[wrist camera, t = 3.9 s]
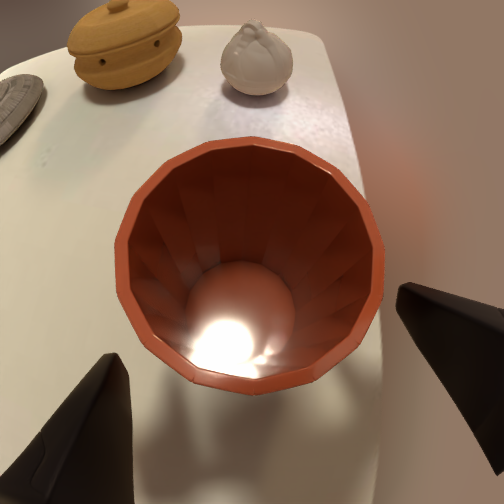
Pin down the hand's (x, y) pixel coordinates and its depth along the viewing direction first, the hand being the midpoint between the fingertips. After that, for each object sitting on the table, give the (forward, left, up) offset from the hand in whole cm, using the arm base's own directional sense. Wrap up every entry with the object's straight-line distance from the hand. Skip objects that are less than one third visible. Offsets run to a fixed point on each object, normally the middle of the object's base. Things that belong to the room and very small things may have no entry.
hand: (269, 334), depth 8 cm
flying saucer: (+16, +35, -9) cm, 40 cm away
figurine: (+23, +4, -9) cm, 25 cm away
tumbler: (+2, +1, -9) cm, 10 cm away
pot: (+24, +18, -9) cm, 31 cm away
